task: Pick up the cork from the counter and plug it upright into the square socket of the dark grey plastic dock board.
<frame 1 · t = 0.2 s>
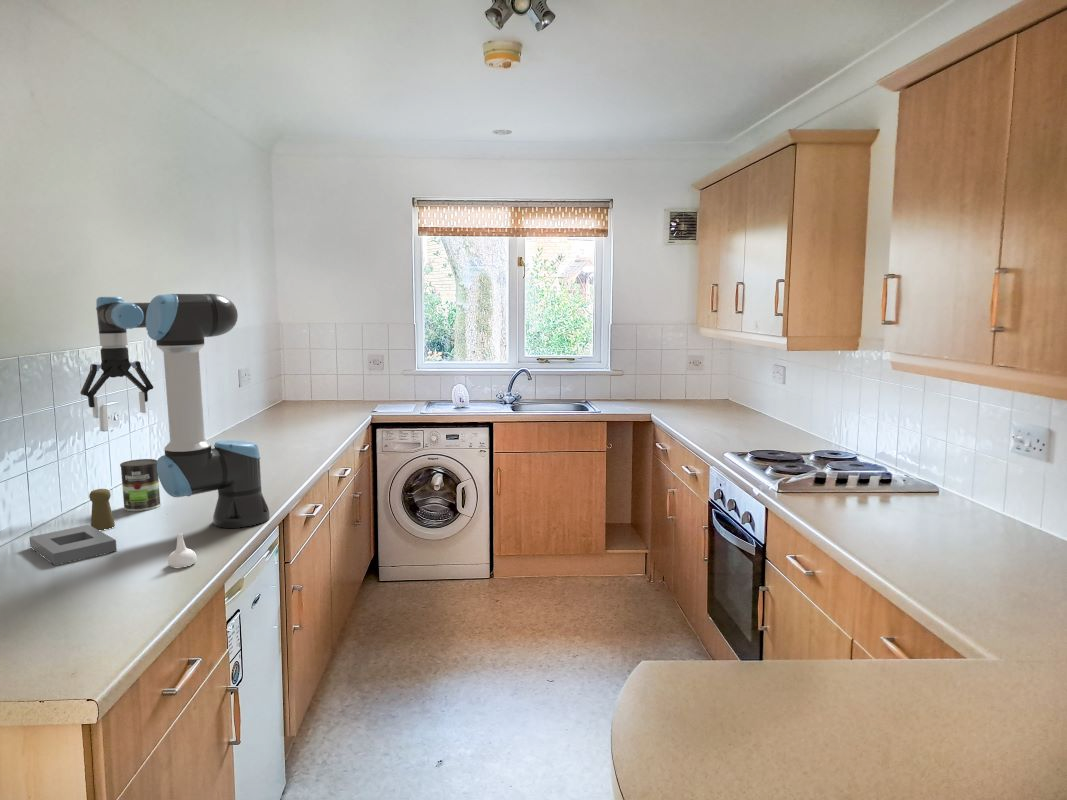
hand: (120, 415, 242), 28 cm above the counter, tool pointing down, fingers open, 13 cm apart
coffee can: (142, 507, 239), on the counter
cork: (103, 528, 218), on the counter
dock board: (73, 549, 200), on the counter
garlic bulb: (183, 565, 187), on the counter
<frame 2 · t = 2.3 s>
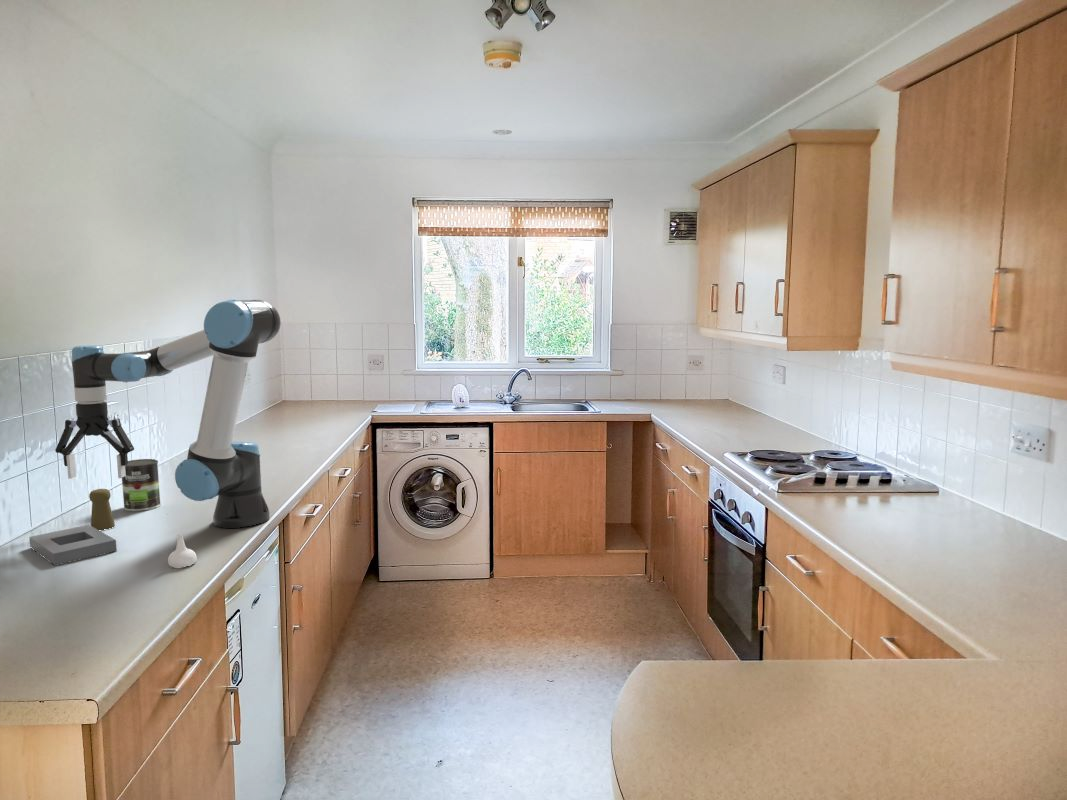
hand: (97, 477, 216), 14 cm above the counter, tool pointing down, fingers open, 13 cm apart
nothing on the counter moved.
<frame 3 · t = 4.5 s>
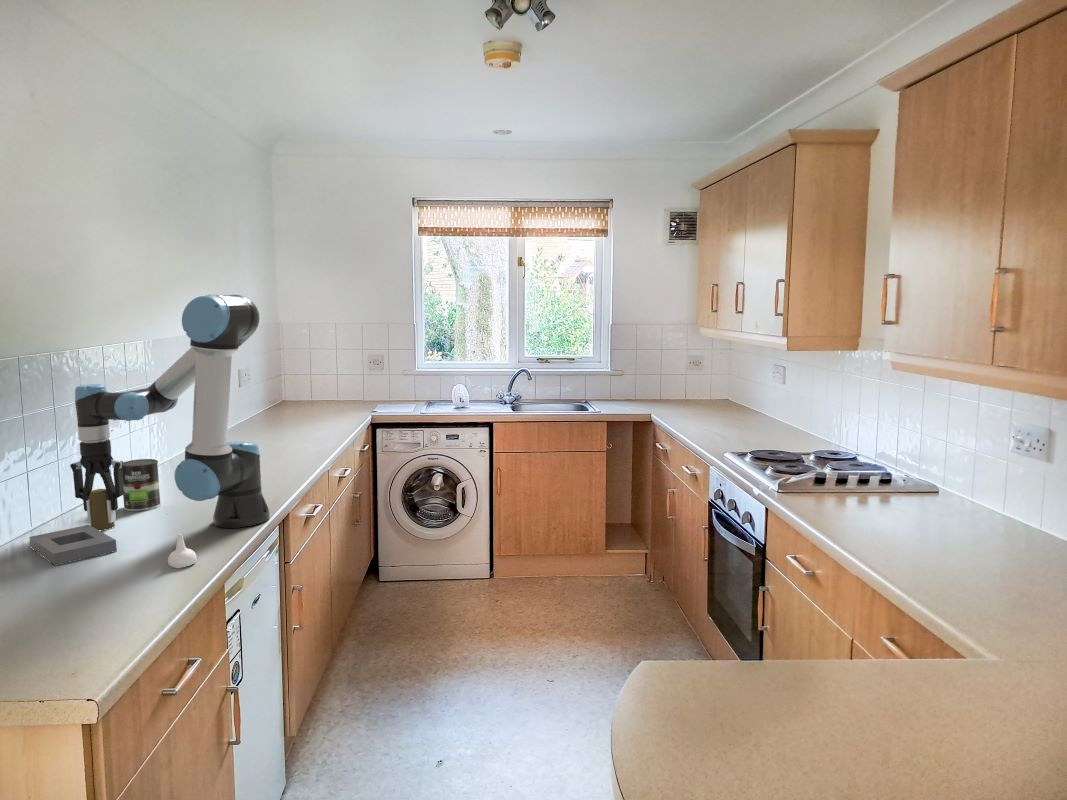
hand: (102, 521, 218), 2 cm above the counter, tool pointing down, fingers closed on cork, 5 cm apart
cork: (102, 528, 218), on the counter, touching gripper
everything else where it was.
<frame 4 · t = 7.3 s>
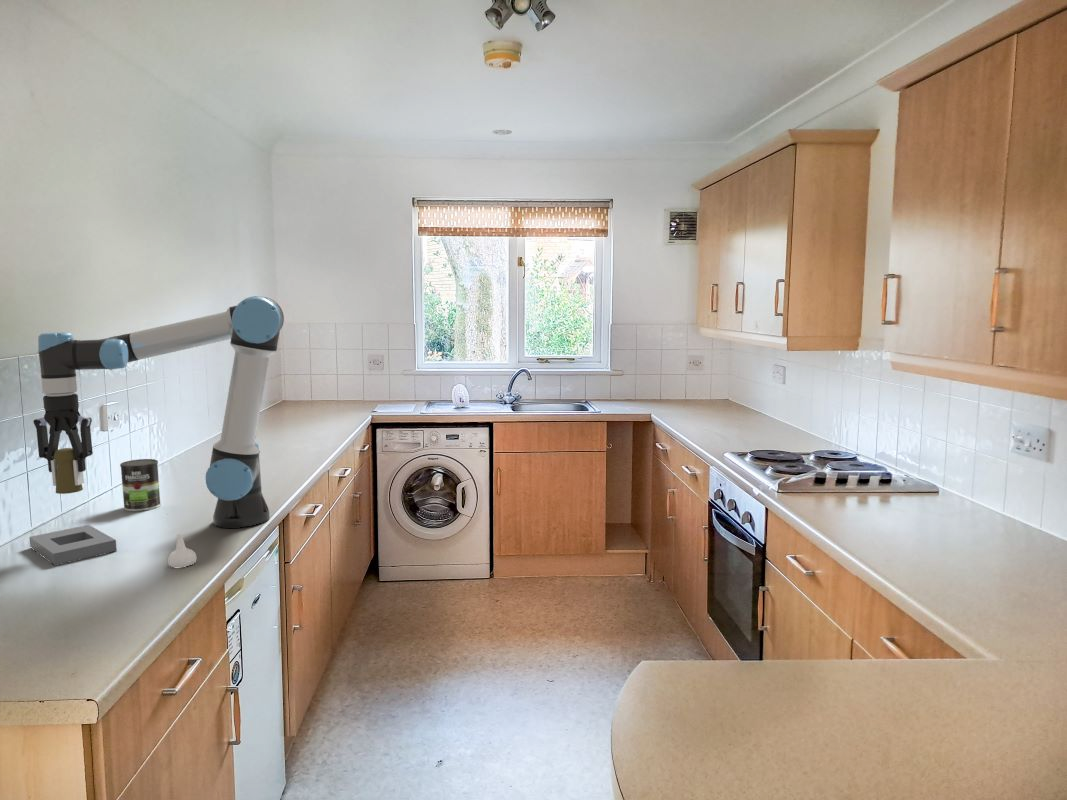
hand: (68, 484, 199), 17 cm above the counter, tool pointing down, fingers closed on cork, 5 cm apart
cork: (69, 491, 199), point 15 cm above the counter, touching gripper
everything else where it was.
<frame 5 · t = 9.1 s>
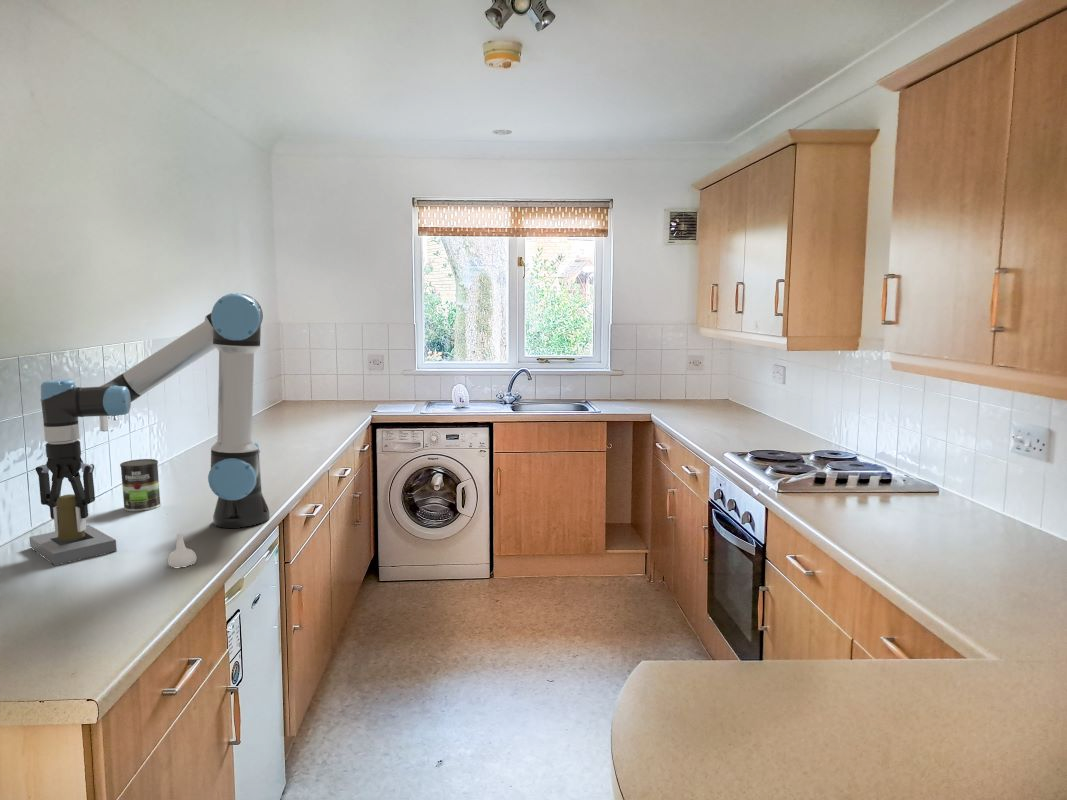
hand: (70, 530, 199), 5 cm above the counter, tool pointing down, fingers closed on cork, 5 cm apart
cork: (71, 537, 199), point 3 cm above the counter, touching gripper
everything else where it was.
when the fingers open (4 cm above the counter, at t = 10.2 s): cork drops 2 cm, resting in dock board.
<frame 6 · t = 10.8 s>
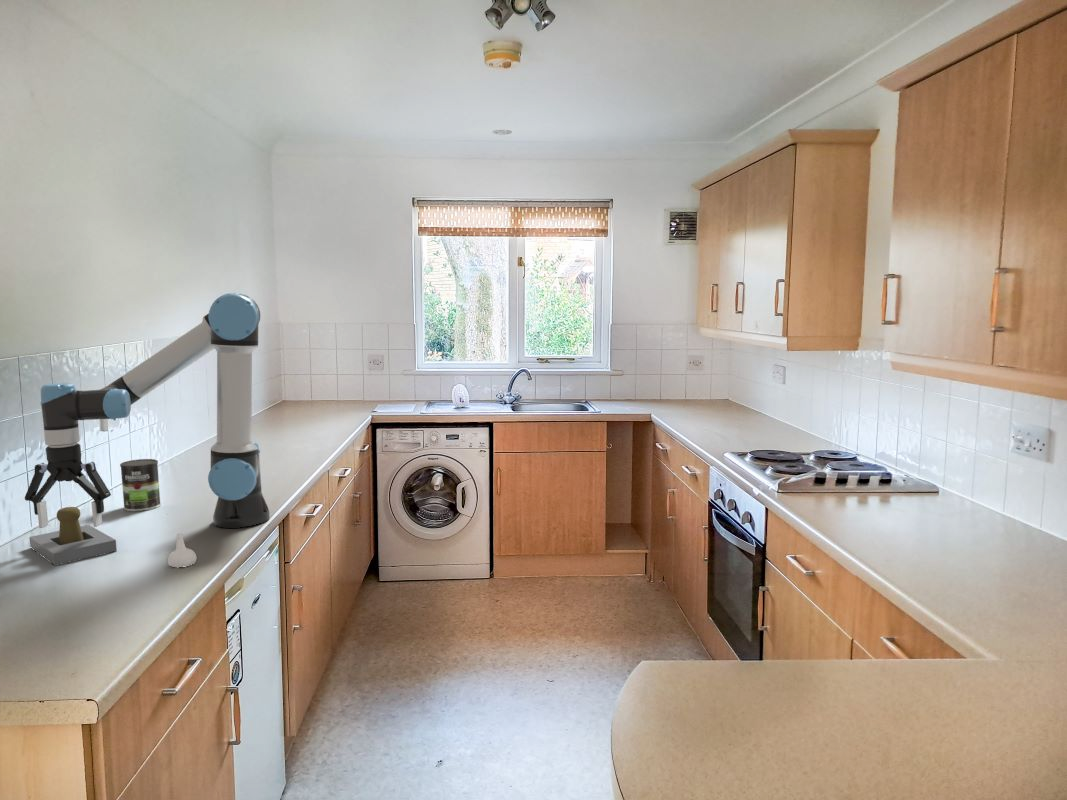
hand: (70, 526, 199), 6 cm above the counter, tool pointing down, fingers open, 13 cm apart
cork: (72, 550, 200), resting in dock board
everything else where it was.
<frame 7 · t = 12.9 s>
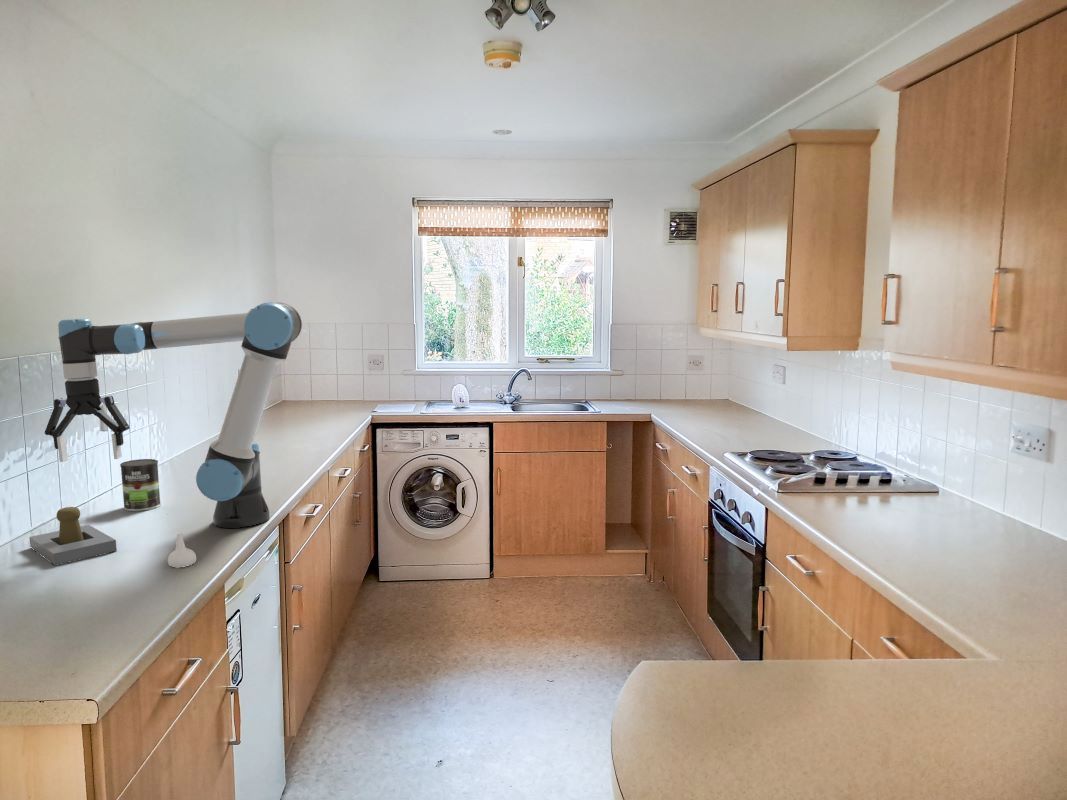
hand: (91, 459, 203), 22 cm above the counter, tool pointing down, fingers open, 13 cm apart
nothing on the counter moved.
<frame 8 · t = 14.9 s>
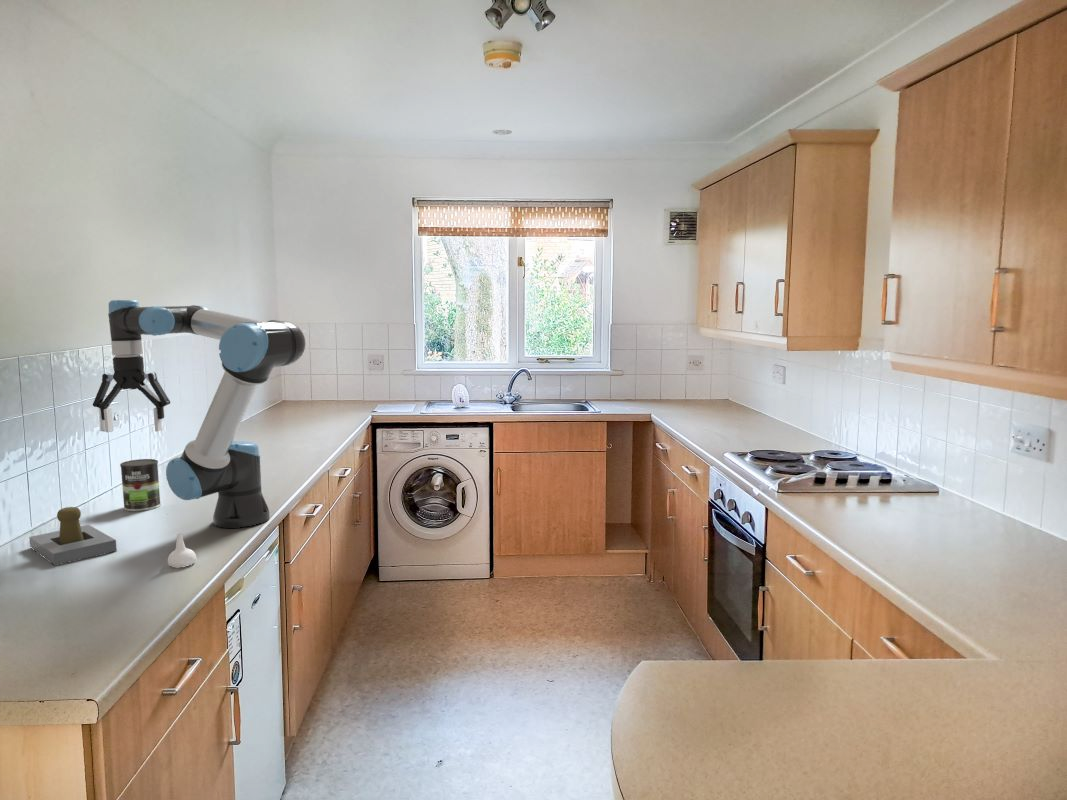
hand: (134, 431, 219), 27 cm above the counter, tool pointing down, fingers open, 13 cm apart
nothing on the counter moved.
at the end: cork 0.4 cm off-centre on the dock board, point 0.0 cm above the dock board's base; cork tilted 1°; the gripper is holding nothing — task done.
